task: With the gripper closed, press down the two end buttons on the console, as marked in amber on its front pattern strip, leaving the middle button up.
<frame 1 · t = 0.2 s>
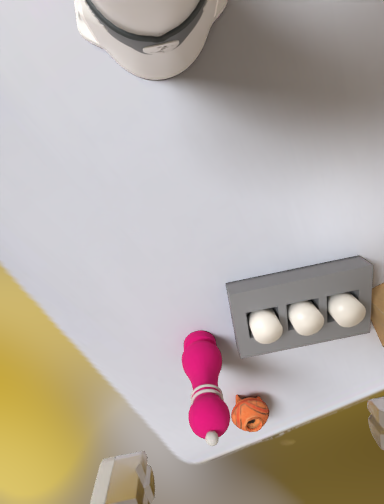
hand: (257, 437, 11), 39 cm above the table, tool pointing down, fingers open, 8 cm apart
pot: (246, 399, 65), on the table
pepper mill: (199, 342, 58), on the table
button middle: (304, 316, 51), point 4 cm above the table, slide at 0.0 cm
button container side: (344, 307, 51), point 4 cm above the table, slide at 0.0 cm
console: (294, 302, 55), on the table
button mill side: (264, 324, 51), point 4 cm above the table, slide at 0.0 cm
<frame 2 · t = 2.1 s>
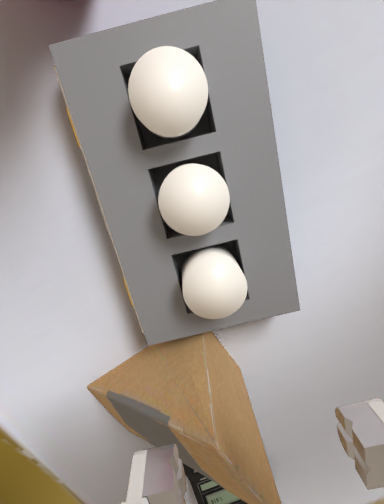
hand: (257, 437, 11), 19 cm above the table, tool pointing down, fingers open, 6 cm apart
sandwich container: (162, 375, 33), on the table
button middle: (192, 197, 23), point 4 cm above the table, slide at 0.0 cm
button container side: (212, 279, 25), point 4 cm above the table, slide at 0.0 cm
console: (190, 191, 27), on the table
calculator: (219, 452, 37), on the table
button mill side: (169, 98, 21), point 4 cm above the table, slide at 0.0 cm
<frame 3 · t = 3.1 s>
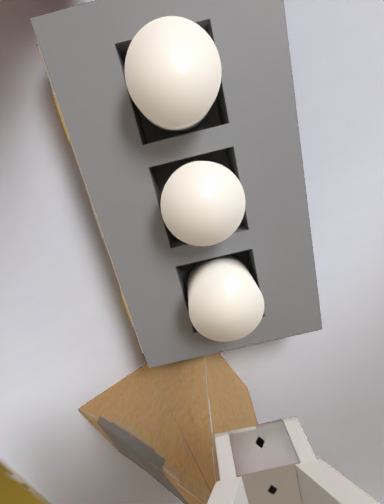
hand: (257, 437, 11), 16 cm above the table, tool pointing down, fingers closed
sandwich container: (161, 396, 30), on the table
button middle: (200, 200, 19), point 4 cm above the table, slide at 0.0 cm
button container side: (222, 295, 22), point 4 cm above the table, slide at 0.0 cm
console: (197, 193, 24), on the table
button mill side: (174, 83, 17), point 4 cm above the table, slide at 0.0 cm
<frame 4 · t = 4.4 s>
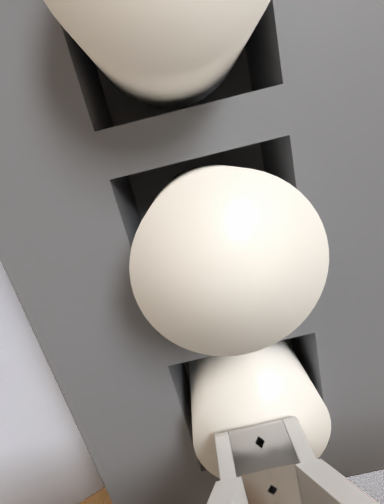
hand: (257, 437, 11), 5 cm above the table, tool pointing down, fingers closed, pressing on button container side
button middle: (219, 247, 9), point 4 cm above the table, slide at 0.0 cm
button container side: (249, 392, 13), point 3 cm above the table, slide at 1.2 cm, touching gripper
console: (207, 220, 14), on the table
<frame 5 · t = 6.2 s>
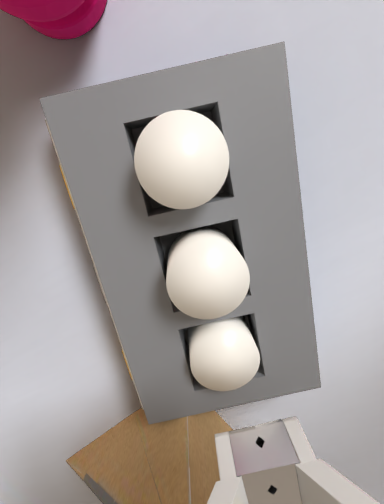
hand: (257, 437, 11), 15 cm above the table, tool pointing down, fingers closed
sandwich container: (149, 443, 30), on the table
button middle: (204, 269, 20), point 4 cm above the table, slide at 0.0 cm
button container side: (221, 345, 23), point 3 cm above the table, slide at 1.5 cm
console: (199, 250, 24), on the table
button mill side: (181, 161, 18), point 4 cm above the table, slide at 0.0 cm
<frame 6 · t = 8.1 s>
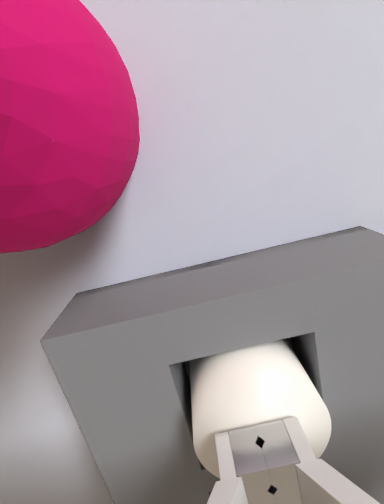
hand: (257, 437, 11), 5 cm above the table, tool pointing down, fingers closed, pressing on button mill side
pepper mill: (66, 134, 13), on the table
console: (257, 443, 18), on the table
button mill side: (249, 392, 13), point 3 cm above the table, slide at 1.1 cm, touching gripper
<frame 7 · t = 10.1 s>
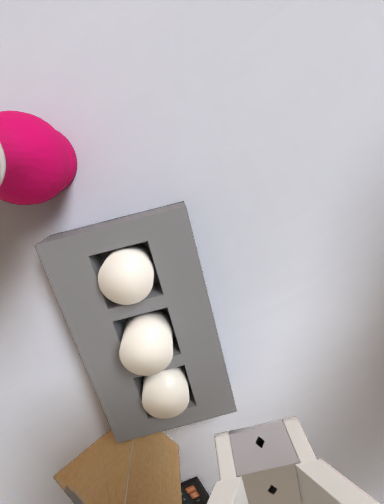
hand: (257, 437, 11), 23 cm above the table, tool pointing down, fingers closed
sandwich container: (115, 459, 40), on the table
pepper mill: (44, 160, 29), on the table
button middle: (147, 340, 30), point 4 cm above the table, slide at 0.0 cm
button container side: (165, 385, 33), point 3 cm above the table, slide at 1.5 cm
console: (149, 318, 34), on the table
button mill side: (128, 272, 29), point 3 cm above the table, slide at 1.5 cm
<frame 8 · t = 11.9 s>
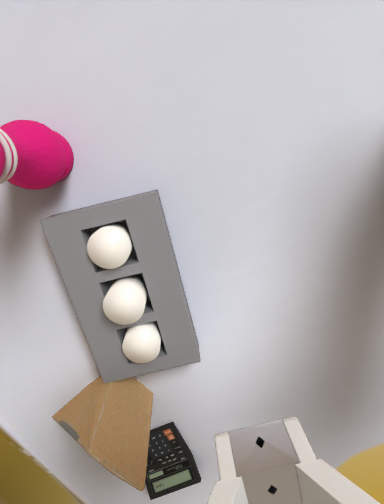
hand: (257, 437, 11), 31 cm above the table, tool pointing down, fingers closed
sandwich container: (102, 403, 48), on the table
pepper mill: (48, 156, 37), on the table
button middle: (126, 298, 38), point 4 cm above the table, slide at 0.0 cm
button container side: (143, 338, 41), point 3 cm above the table, slide at 1.5 cm
console: (131, 285, 42), on the table
calculator: (162, 452, 52), on the table
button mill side: (112, 244, 37), point 3 cm above the table, slide at 1.5 cm
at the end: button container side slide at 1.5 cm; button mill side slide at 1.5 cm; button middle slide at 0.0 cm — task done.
